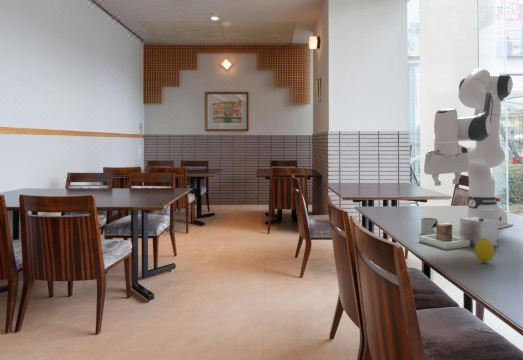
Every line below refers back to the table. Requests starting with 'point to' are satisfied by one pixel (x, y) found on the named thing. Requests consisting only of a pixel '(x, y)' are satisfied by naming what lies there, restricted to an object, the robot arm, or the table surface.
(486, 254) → the lemon
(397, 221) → the table surface
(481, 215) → the skincare box
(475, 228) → the block
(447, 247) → the tray
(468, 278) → the table surface
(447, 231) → the block
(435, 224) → the mug
